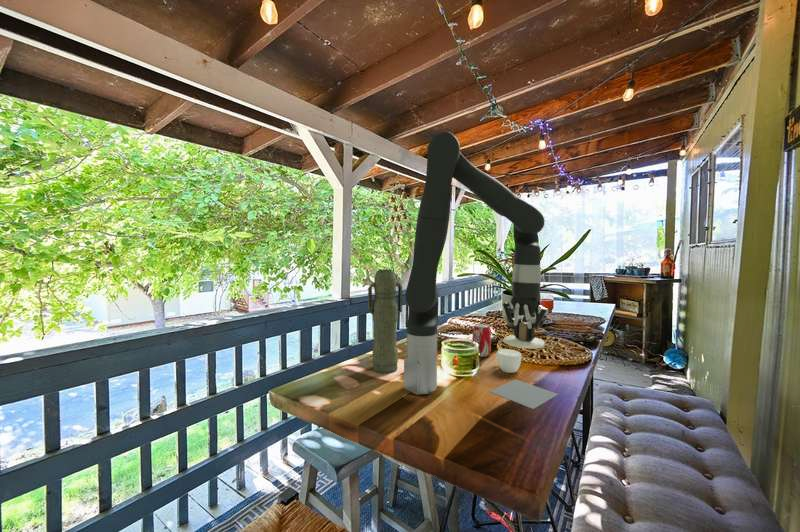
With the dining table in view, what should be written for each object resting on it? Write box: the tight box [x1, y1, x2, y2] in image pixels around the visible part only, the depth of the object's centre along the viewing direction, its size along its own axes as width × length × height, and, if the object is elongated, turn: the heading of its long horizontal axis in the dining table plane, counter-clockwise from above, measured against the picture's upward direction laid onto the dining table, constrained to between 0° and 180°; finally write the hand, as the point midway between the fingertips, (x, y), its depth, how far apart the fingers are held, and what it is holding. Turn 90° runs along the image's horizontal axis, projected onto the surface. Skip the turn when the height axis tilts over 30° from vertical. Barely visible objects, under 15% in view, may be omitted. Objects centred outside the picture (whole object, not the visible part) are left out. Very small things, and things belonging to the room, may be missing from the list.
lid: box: [503, 321, 546, 350], centre depth 97 cm, size 11×11×6 cm
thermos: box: [367, 269, 403, 374], centre depth 118 cm, size 9×12×35 cm
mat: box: [488, 379, 559, 410], centre depth 98 cm, size 14×14×1 cm
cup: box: [495, 348, 522, 374], centre depth 117 cm, size 8×10×7 cm
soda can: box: [472, 323, 492, 358], centre depth 134 cm, size 7×7×12 cm
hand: (524, 339), depth 98 cm, fingers closed on lid, 3 cm apart
